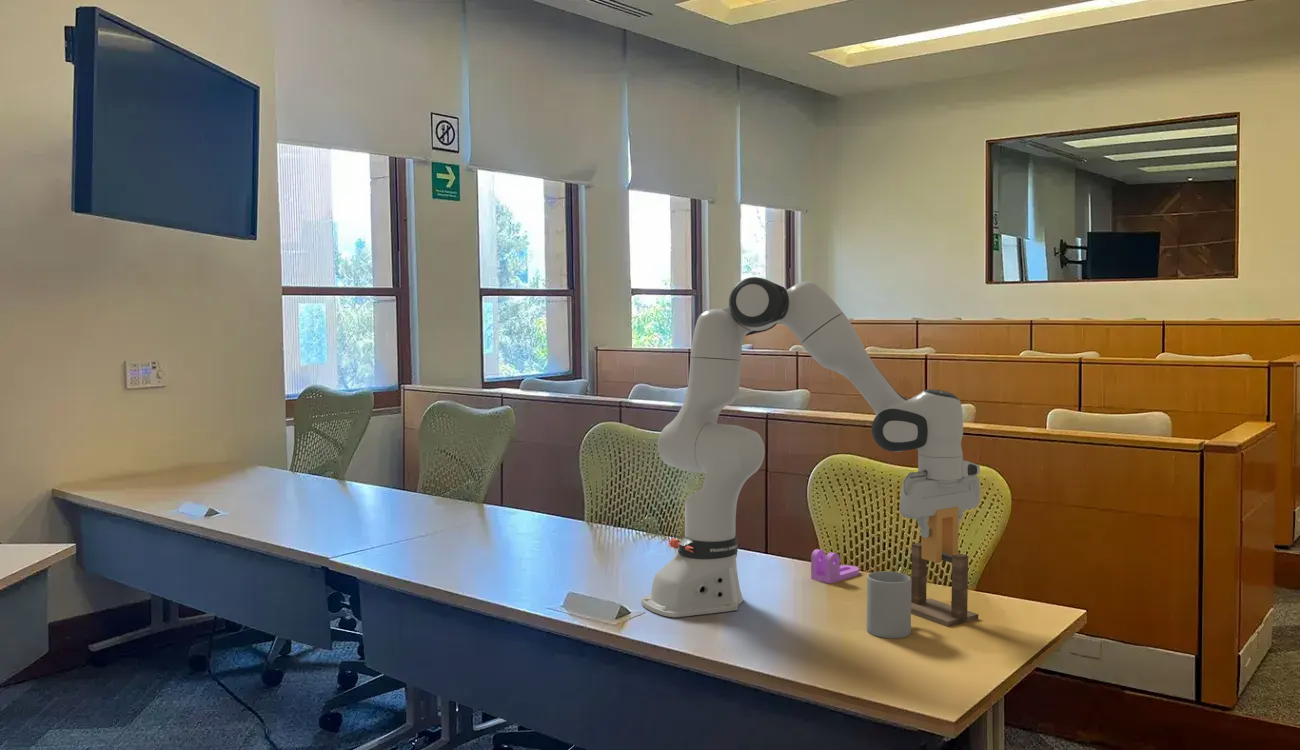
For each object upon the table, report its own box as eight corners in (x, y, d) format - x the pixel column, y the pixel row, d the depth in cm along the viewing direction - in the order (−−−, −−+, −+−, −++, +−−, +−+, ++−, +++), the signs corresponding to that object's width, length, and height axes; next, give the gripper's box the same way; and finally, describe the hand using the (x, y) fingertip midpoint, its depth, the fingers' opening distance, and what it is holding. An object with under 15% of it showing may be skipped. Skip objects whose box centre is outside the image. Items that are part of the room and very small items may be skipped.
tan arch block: (936, 562, 193) (936, 510, 192) (921, 558, 197) (921, 507, 196) (957, 558, 197) (958, 506, 196) (942, 553, 200) (943, 503, 199)
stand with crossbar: (947, 626, 189) (948, 559, 188) (899, 609, 200) (900, 546, 199) (978, 619, 194) (979, 553, 193) (930, 602, 205) (930, 540, 204)
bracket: (829, 584, 220) (830, 554, 219) (811, 579, 224) (811, 550, 224) (863, 574, 228) (863, 545, 228) (844, 569, 233) (844, 541, 232)
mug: (901, 641, 180) (902, 585, 180) (859, 633, 185) (860, 578, 185) (923, 625, 190) (923, 571, 190) (882, 617, 195) (883, 564, 194)
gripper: (915, 475, 187) (915, 544, 188) (985, 465, 198) (984, 530, 199) (892, 471, 193) (892, 538, 194) (961, 461, 203) (961, 524, 204)
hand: (939, 534), depth 196 cm, fingers closed on tan arch block, 6 cm apart
